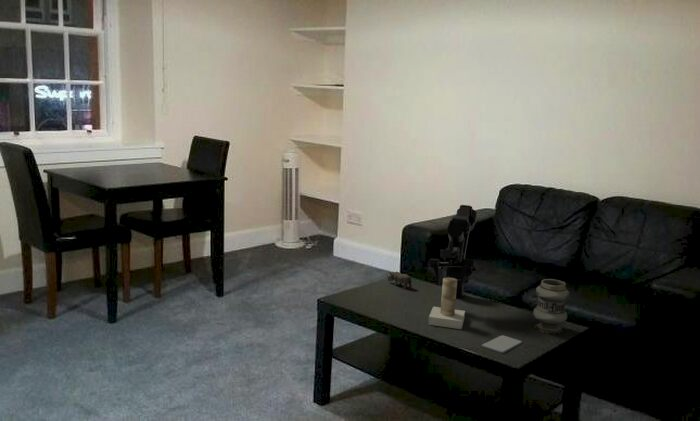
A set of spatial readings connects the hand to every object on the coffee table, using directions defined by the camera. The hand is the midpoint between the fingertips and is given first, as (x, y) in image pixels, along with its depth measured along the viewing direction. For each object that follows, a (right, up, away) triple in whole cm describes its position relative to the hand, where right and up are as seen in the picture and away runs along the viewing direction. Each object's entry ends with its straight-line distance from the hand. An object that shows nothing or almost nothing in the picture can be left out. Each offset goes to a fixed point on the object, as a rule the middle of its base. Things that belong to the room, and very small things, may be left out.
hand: (449, 285), depth 255 cm
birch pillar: (-2, -10, -7) cm, 12 cm away
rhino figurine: (-17, -4, +34) cm, 38 cm away
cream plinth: (-2, -12, -7) cm, 14 cm away
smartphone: (+14, -18, -26) cm, 34 cm away
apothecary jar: (+35, -15, -8) cm, 39 cm away
